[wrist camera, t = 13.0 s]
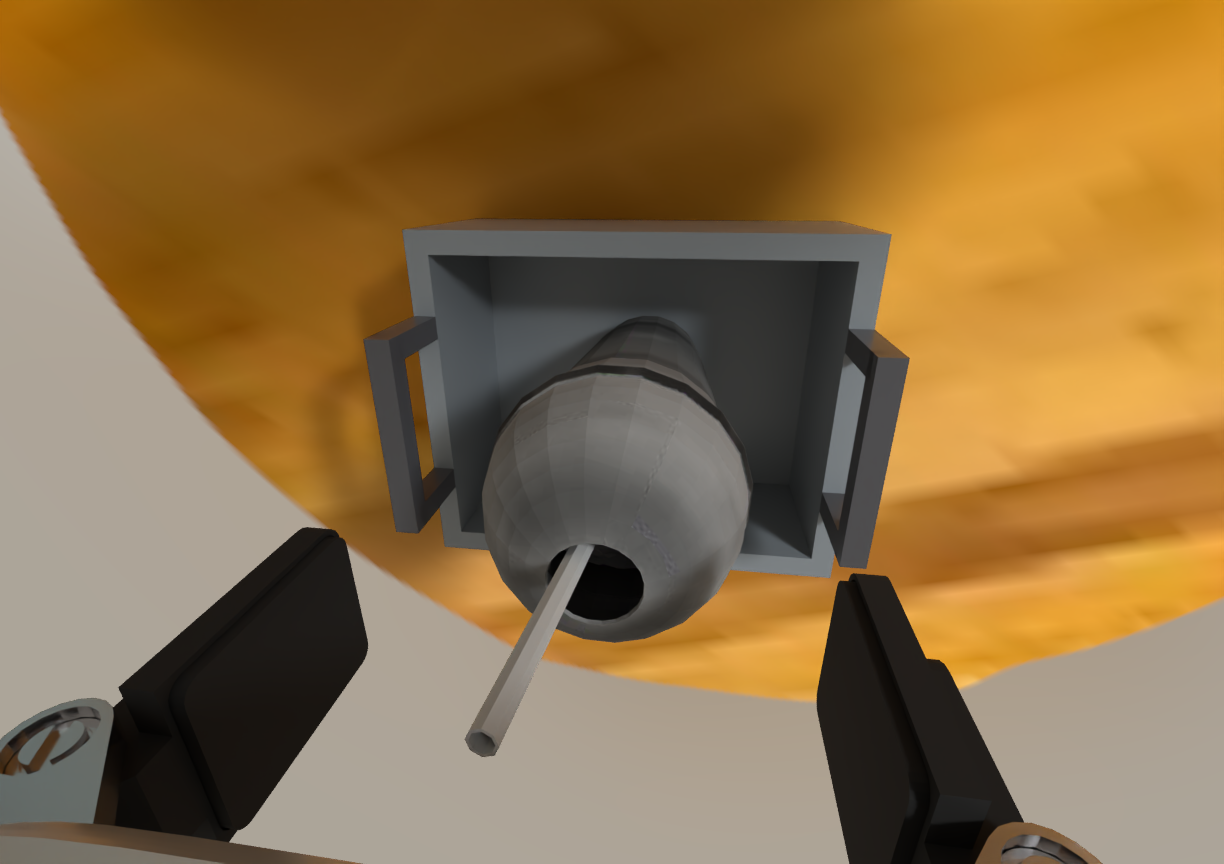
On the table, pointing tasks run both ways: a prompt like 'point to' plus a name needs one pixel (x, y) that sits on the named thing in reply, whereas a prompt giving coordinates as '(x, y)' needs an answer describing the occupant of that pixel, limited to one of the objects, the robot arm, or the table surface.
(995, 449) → the table surface
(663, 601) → the beverage cup
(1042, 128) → the table surface
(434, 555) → the table surface
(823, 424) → the tote
